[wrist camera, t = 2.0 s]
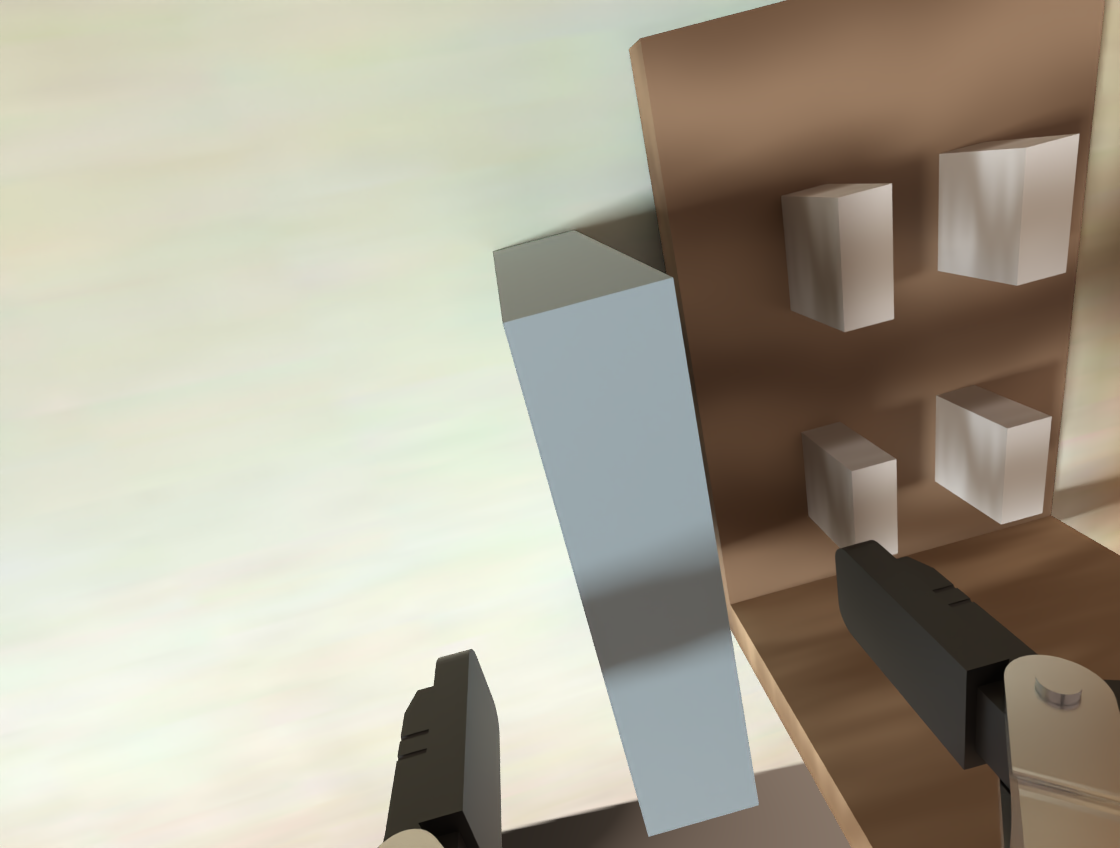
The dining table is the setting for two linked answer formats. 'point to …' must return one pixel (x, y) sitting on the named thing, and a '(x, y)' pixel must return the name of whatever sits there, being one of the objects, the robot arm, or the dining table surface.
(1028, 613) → the hinge base
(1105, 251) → the dining table surface
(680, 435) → the door
